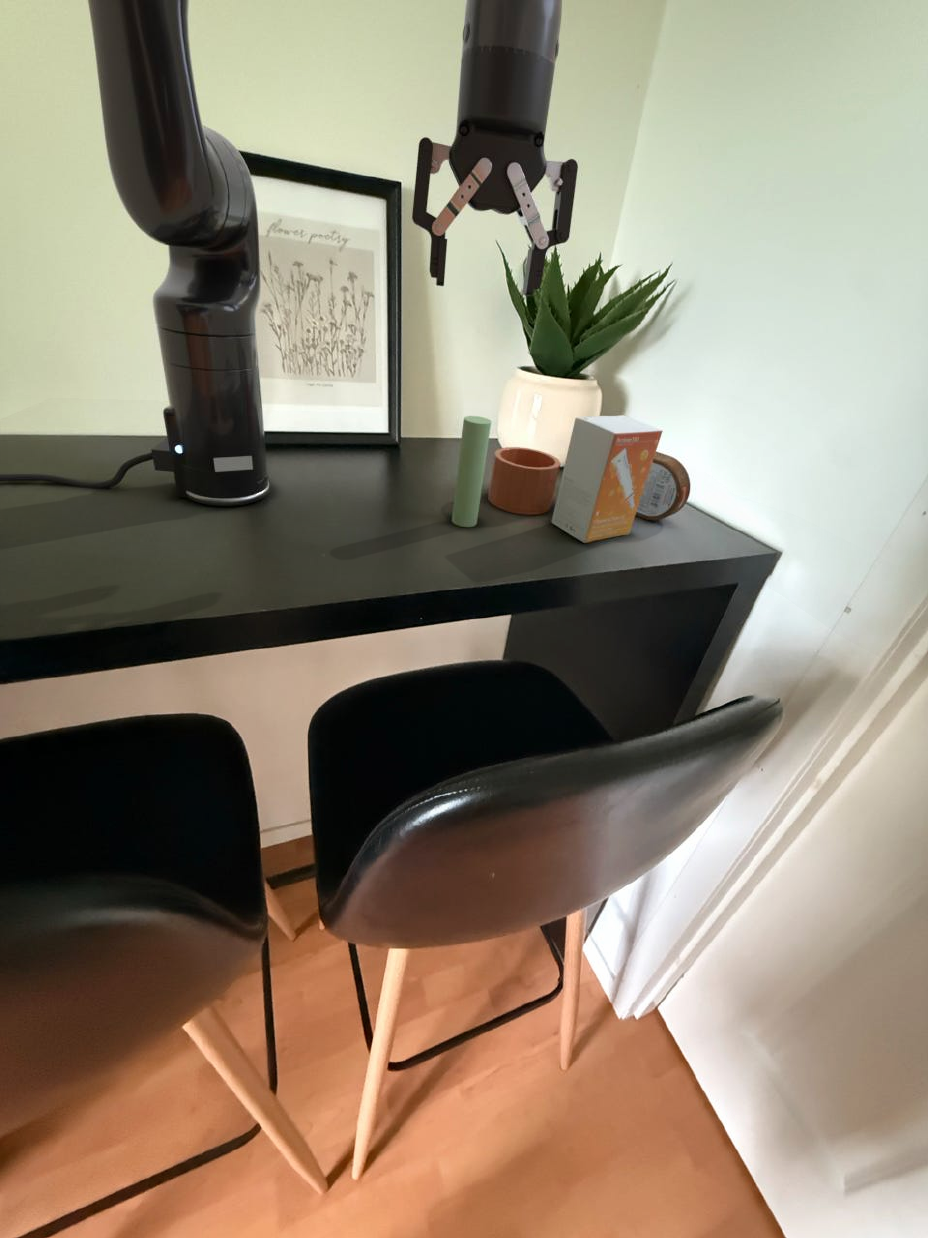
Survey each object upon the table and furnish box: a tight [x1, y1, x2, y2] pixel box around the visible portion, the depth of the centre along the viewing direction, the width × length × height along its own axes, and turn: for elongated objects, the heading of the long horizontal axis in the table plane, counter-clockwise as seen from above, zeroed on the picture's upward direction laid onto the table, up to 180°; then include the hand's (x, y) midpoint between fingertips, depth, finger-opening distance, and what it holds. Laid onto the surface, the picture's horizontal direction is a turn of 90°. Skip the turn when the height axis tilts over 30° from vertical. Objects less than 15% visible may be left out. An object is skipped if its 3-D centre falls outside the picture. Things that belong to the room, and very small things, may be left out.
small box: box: [550, 414, 664, 544], centre depth 65 cm, size 8×6×13 cm
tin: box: [635, 450, 691, 521], centre depth 74 cm, size 15×3×8 cm, turn 47°
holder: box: [487, 446, 562, 516], centre depth 72 cm, size 8×8×6 cm
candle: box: [451, 415, 492, 528], centre depth 63 cm, size 3×3×12 cm
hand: (483, 290), depth 53 cm, fingers open, 8 cm apart
